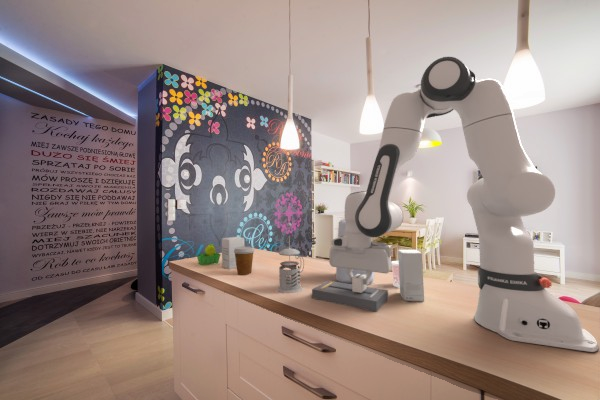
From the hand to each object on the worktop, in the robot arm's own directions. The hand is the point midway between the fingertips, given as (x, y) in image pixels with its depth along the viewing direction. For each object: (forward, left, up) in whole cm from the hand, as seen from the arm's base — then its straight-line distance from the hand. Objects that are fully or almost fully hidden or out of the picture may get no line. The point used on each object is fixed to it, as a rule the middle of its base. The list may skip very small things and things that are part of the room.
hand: (359, 283), depth 87 cm
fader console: (+4, 0, -6) cm, 7 cm away
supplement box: (+74, -13, -6) cm, 75 cm away
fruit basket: (+91, -11, -6) cm, 91 cm away
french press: (+27, +1, -6) cm, 27 cm away
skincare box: (-13, -12, -6) cm, 19 cm away
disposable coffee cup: (+59, -6, -6) cm, 59 cm away
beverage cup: (-7, -23, -6) cm, 25 cm away
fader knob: (0, 0, -2) cm, 2 cm away
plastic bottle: (+11, -23, -6) cm, 26 cm away
